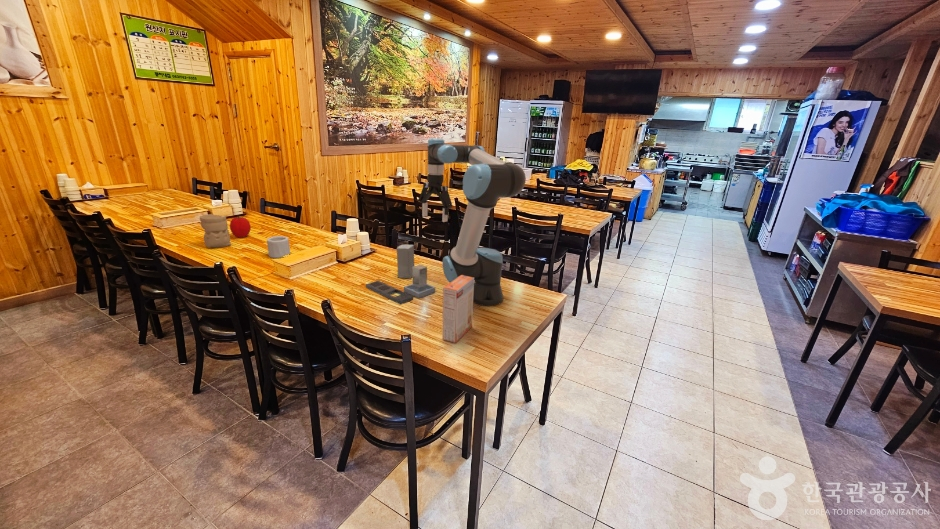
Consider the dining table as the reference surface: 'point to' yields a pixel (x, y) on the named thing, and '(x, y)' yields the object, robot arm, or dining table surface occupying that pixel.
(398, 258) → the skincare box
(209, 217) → the container
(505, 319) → the dining table surface
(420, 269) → the block
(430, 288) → the parts tray
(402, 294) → the rail
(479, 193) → the robot arm
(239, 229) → the red apple
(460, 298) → the cracker box
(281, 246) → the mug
